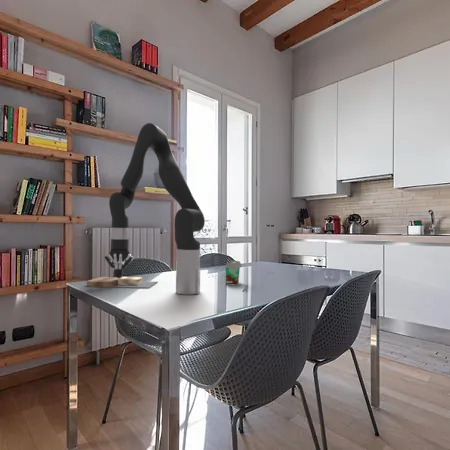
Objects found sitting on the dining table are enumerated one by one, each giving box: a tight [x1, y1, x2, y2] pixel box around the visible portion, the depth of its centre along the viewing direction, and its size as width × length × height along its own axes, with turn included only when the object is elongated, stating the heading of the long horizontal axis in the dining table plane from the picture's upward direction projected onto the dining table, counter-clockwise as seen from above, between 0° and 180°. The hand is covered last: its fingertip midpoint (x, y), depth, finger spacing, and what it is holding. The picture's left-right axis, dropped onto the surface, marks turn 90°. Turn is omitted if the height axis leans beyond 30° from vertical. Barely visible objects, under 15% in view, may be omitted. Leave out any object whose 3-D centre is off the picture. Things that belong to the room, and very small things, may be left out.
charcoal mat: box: [114, 280, 159, 289], centre depth 144 cm, size 14×14×1 cm
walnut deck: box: [86, 276, 119, 288], centre depth 144 cm, size 12×12×2 cm
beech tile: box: [118, 276, 144, 285], centre depth 144 cm, size 9×6×2 cm, turn 87°
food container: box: [225, 260, 242, 285], centre depth 153 cm, size 12×6×10 cm, turn 168°
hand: (119, 277), depth 144 cm, fingers closed
